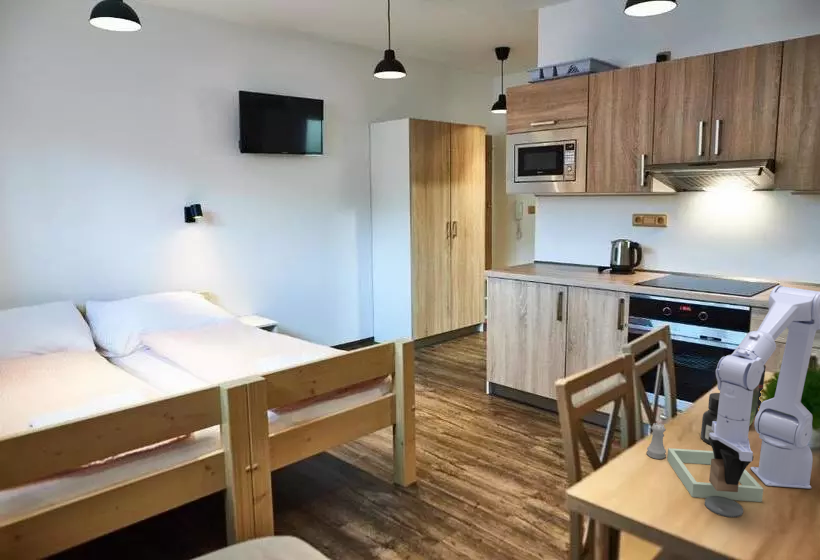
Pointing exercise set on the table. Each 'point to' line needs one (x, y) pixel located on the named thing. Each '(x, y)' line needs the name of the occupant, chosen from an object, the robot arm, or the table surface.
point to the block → (720, 477)
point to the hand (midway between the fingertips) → (726, 478)
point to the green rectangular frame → (703, 490)
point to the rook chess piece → (657, 442)
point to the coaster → (723, 506)
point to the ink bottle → (710, 416)
